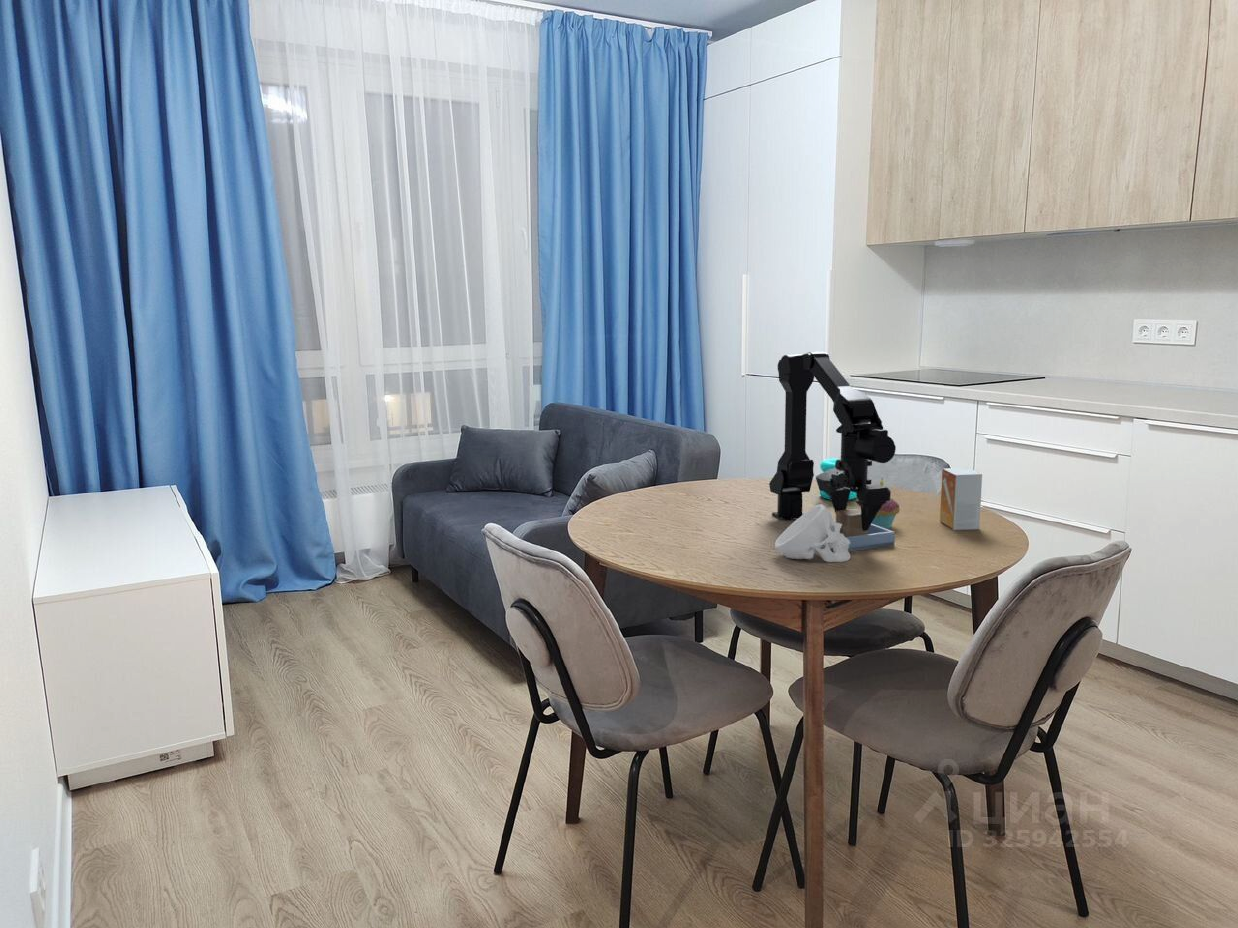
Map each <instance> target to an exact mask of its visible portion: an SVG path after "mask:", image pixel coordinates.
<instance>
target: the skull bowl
mask: <svg viewBox="0 0 1238 928" xmlns="http://www.w3.org/2000/svg"><path fill="white" fill-rule="evenodd" d="M803 514H804V515H802V516H801V517H800V518H798V519H795V521H793V522H792V523H791V524H790V525H789V526H788V527H787V528H785V530H784V531H783V532H782V533H781V534H780V535H779V536H778V538H777V539H776V541H775V543H774V545H775V548H776V550H777V551H778V552H779V553H780V554H782V555H783V556H784V557H785V558H787V559H793V560H794V559H795V560H803V559H806V560H811V559H814V555H815V554H816V555H818V556H820V557H821V558H822V560H823V561H824V562H826V563H843V562H848V561H849V560H851V554H850V551H849V552H848V548H849V544H850V541H849V540H848V539H847V538H846V537H845V536H844V534H842V533H840V528H841V526H842V524H840V523H837V522H836V520H835V519H834V518H833V515H832V514H831V512H830V510H828V508H827V507H826V506H825V505H824V504H822V503H820V504H818V505H817V504H816V506H813V507H812V508H811V509H809V510H808V511H806V512H805V513H803Z"/></svg>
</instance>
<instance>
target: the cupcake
mask: <svg viewBox="0 0 1238 928" xmlns="http://www.w3.org/2000/svg"><path fill="white" fill-rule="evenodd" d="M883 479H884V478H883V477H882V478H881V480H880V482H879V483H880V484H879V485H881V486H884V481H883ZM900 511H901V510H900V504H899V503H898V502H897V501H896V500H894V499H893V498H891V499H890V501H887V502H886V503H885V504H883V505H882V507H881V508H880V510H879V511H878V513H877V514H876V516H875V518H874V520H873V521H872V524H875V525H877V526H880V527H883V528H885V529H888V530H889V529H890V528H891V527H892V525H893V522H894V519H895V517H896V516H897V515H898V514H899V513H900Z"/></svg>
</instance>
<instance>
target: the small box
mask: <svg viewBox="0 0 1238 928" xmlns="http://www.w3.org/2000/svg"><path fill="white" fill-rule="evenodd" d="M941 470H942V472H941V473H942V475H941V493H940V511H939V521H940V522H941V523H942V524H943V525H945V526H947V527H948V528H950V529H952V530H953V531H962V530H963V531H965V530H966V531H968V530H972V531H973V530H980V526H981V525H980V524H981V523H980V521H981V505H982V504H981V502H982V486H983V485H982V484H983V483H982V481H983V473H980V472H977V471H976V470H973V469H972V468H969V467H949V468H948V467H947V468H942V469H941Z"/></svg>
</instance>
